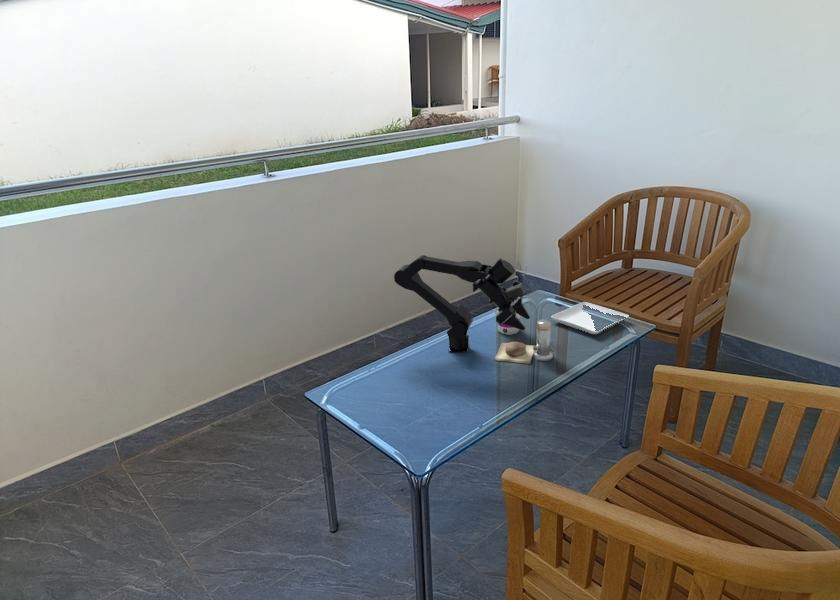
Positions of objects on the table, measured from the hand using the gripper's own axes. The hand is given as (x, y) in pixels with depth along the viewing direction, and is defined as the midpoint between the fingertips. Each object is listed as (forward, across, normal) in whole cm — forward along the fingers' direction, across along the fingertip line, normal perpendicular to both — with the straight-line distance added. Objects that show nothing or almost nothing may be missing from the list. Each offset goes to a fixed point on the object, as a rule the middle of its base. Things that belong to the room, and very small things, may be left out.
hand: (526, 323), depth 203 cm
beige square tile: (+6, 0, +11) cm, 13 cm away
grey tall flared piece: (+12, 0, +4) cm, 13 cm away
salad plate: (+22, +31, -4) cm, 38 cm away
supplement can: (+2, +18, +16) cm, 24 cm away
